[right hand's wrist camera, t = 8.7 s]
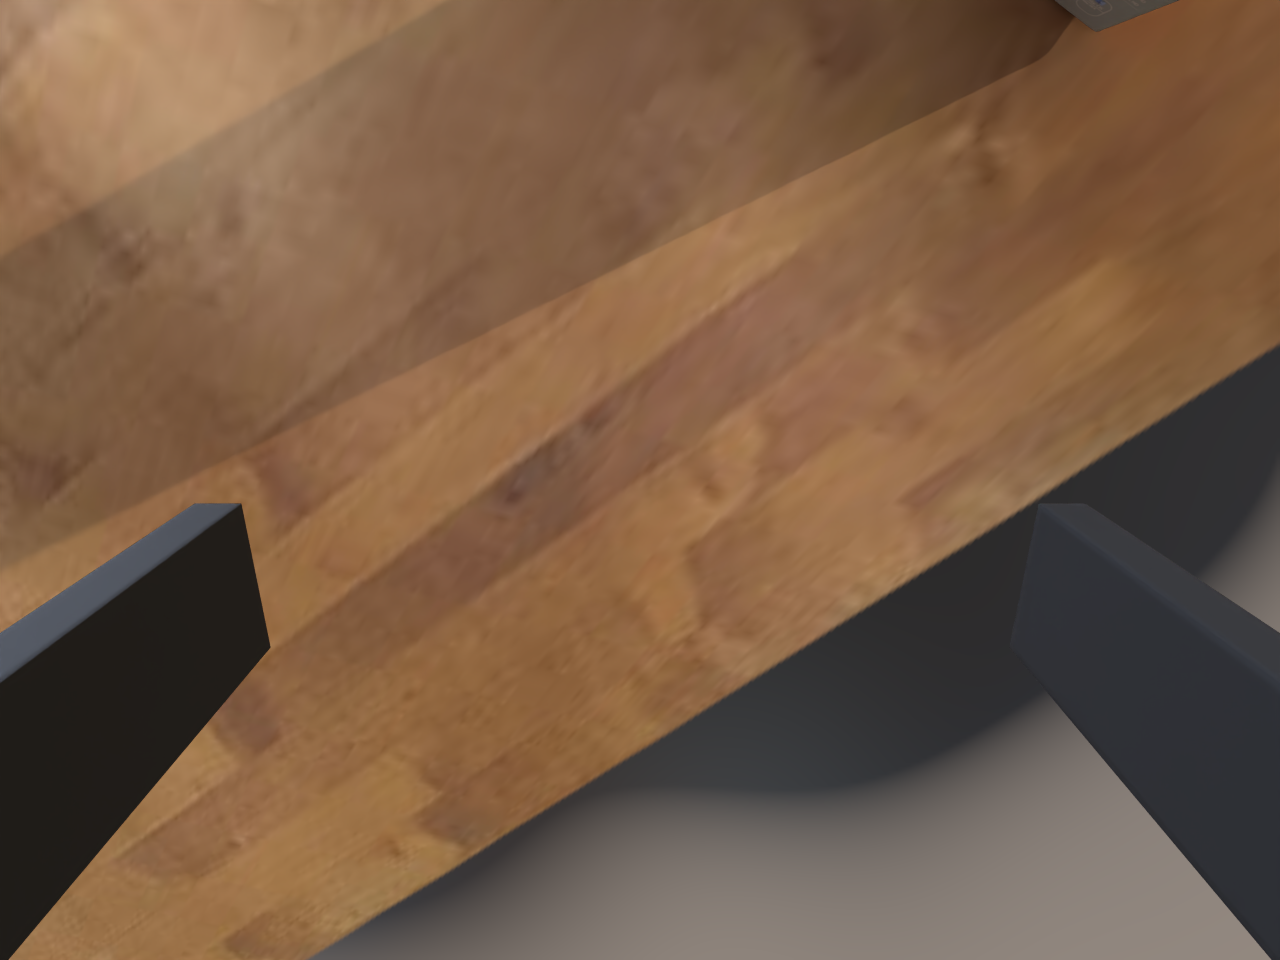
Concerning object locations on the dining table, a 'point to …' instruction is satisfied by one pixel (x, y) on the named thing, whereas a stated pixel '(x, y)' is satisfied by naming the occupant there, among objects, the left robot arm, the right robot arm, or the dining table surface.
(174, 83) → the dining table surface
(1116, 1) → the hard drive box
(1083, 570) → the right robot arm
